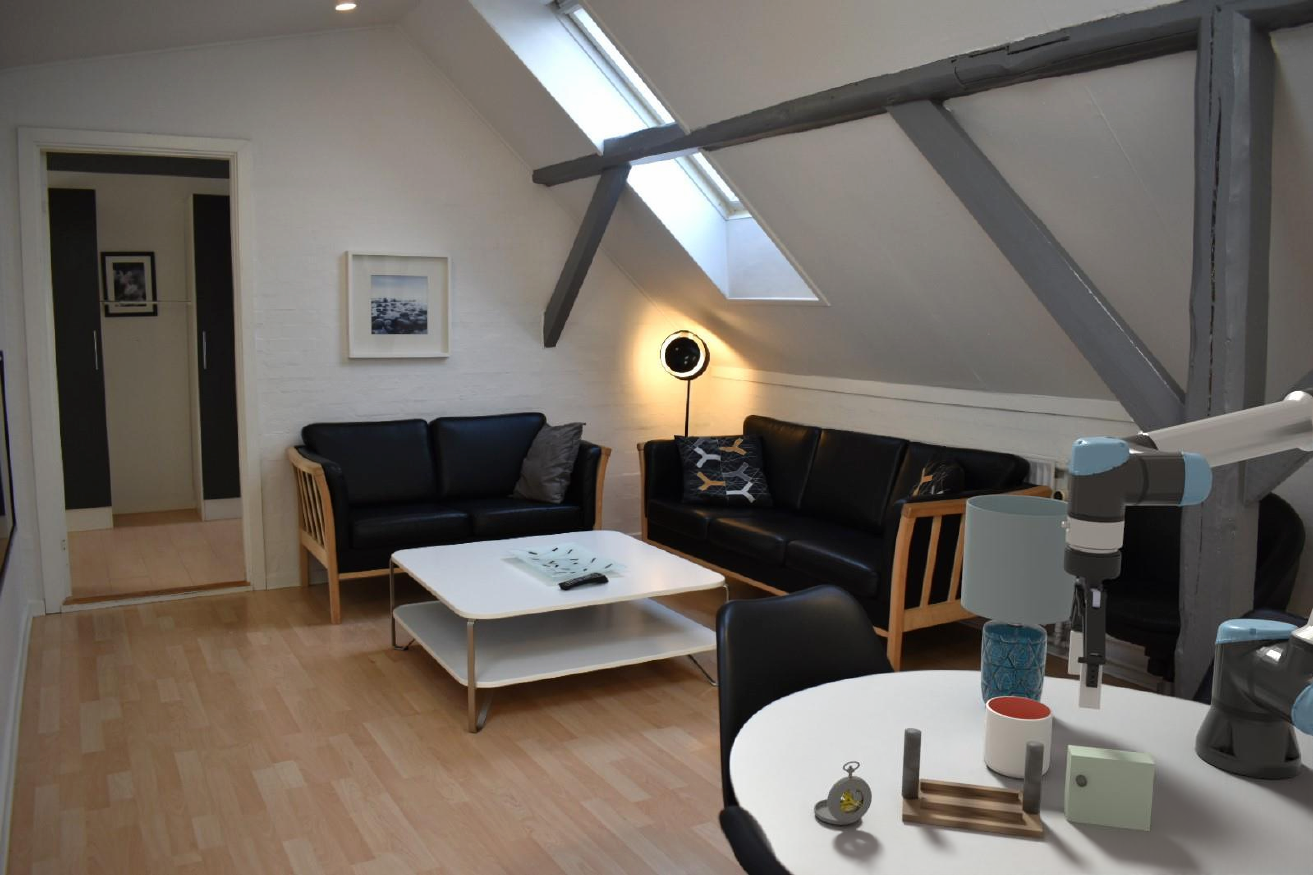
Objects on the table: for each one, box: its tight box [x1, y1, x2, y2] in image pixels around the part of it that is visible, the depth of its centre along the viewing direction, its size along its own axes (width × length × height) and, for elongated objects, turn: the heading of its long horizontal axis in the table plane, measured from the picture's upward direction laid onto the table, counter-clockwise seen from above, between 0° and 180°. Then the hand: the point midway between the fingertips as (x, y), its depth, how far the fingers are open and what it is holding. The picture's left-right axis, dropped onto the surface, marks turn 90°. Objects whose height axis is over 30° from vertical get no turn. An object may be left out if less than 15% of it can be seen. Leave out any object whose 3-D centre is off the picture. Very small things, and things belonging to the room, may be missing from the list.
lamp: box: [960, 494, 1076, 705], centre depth 192 cm, size 19×19×38 cm
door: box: [1063, 744, 1156, 832], centre depth 152 cm, size 11×4×10 cm, turn 76°
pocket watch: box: [813, 760, 873, 826], centre depth 151 cm, size 8×8×10 cm
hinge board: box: [901, 727, 1044, 839], centre depth 155 cm, size 19×12×11 cm, turn 76°
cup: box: [982, 696, 1054, 780], centre depth 169 cm, size 10×10×10 cm
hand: (1083, 690), depth 154 cm, fingers open, 13 cm apart
